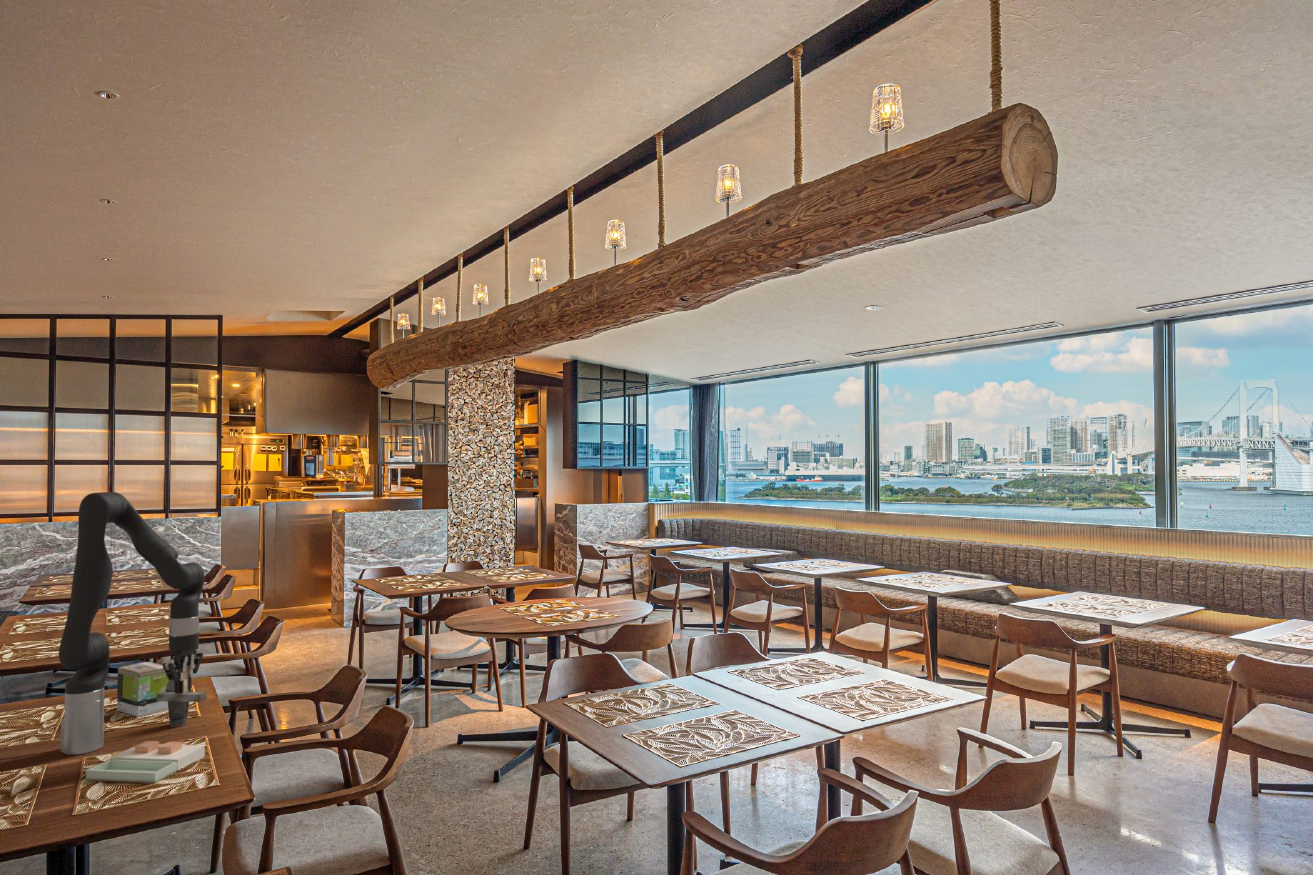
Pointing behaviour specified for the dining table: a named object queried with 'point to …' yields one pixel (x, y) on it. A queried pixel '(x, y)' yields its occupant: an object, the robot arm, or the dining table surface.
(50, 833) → the dining table surface
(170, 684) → the beverage cup
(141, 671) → the tea box
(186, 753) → the stone plate
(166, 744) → the tile
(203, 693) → the scraper
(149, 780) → the tray
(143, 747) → the tile
